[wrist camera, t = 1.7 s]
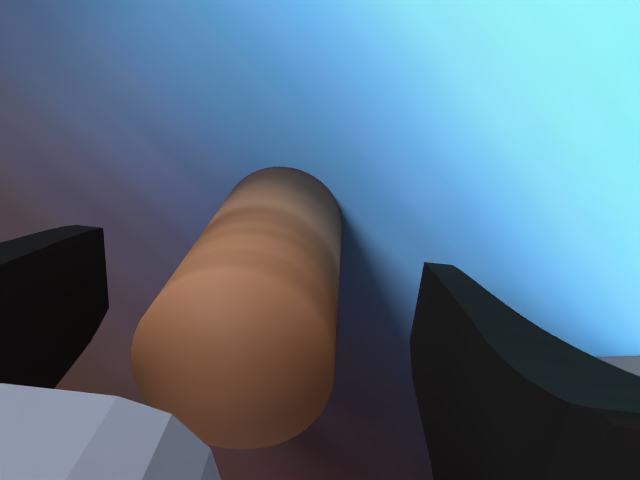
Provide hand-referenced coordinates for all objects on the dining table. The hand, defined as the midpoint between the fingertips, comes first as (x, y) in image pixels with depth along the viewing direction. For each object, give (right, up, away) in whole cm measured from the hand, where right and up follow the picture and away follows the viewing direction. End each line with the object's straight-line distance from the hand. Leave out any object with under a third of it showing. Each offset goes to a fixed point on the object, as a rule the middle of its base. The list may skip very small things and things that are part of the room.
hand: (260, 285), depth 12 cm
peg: (0, +1, +4) cm, 4 cm away
